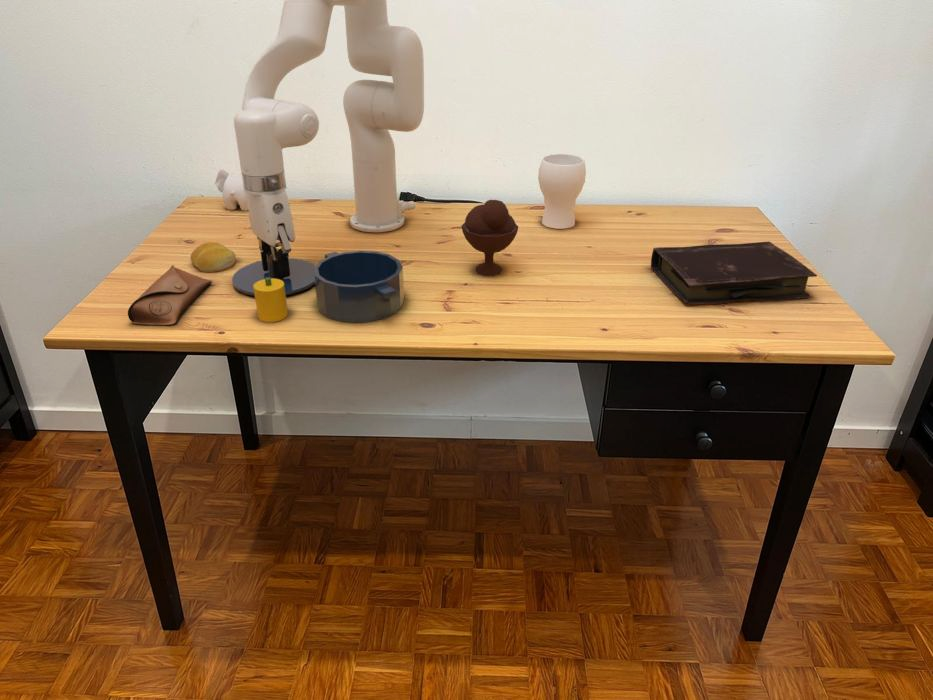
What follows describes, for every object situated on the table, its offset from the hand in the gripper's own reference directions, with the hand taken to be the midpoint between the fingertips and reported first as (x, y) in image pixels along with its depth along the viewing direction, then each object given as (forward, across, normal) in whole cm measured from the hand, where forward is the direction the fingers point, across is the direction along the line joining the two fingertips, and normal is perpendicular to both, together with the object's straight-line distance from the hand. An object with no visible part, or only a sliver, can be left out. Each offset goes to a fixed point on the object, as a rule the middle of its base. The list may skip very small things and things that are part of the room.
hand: (276, 272), depth 141 cm
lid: (+1, 0, 0) cm, 1 cm away
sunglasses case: (+2, +3, +19) cm, 20 cm away
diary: (+2, -54, -70) cm, 88 cm away
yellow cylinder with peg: (+2, -13, +7) cm, 15 cm away
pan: (+2, -18, -8) cm, 20 cm away
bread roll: (+2, +15, +7) cm, 17 cm away
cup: (+2, -10, -66) cm, 67 cm away
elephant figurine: (+2, +45, -12) cm, 47 cm away
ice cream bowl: (+2, -21, -36) cm, 42 cm away
